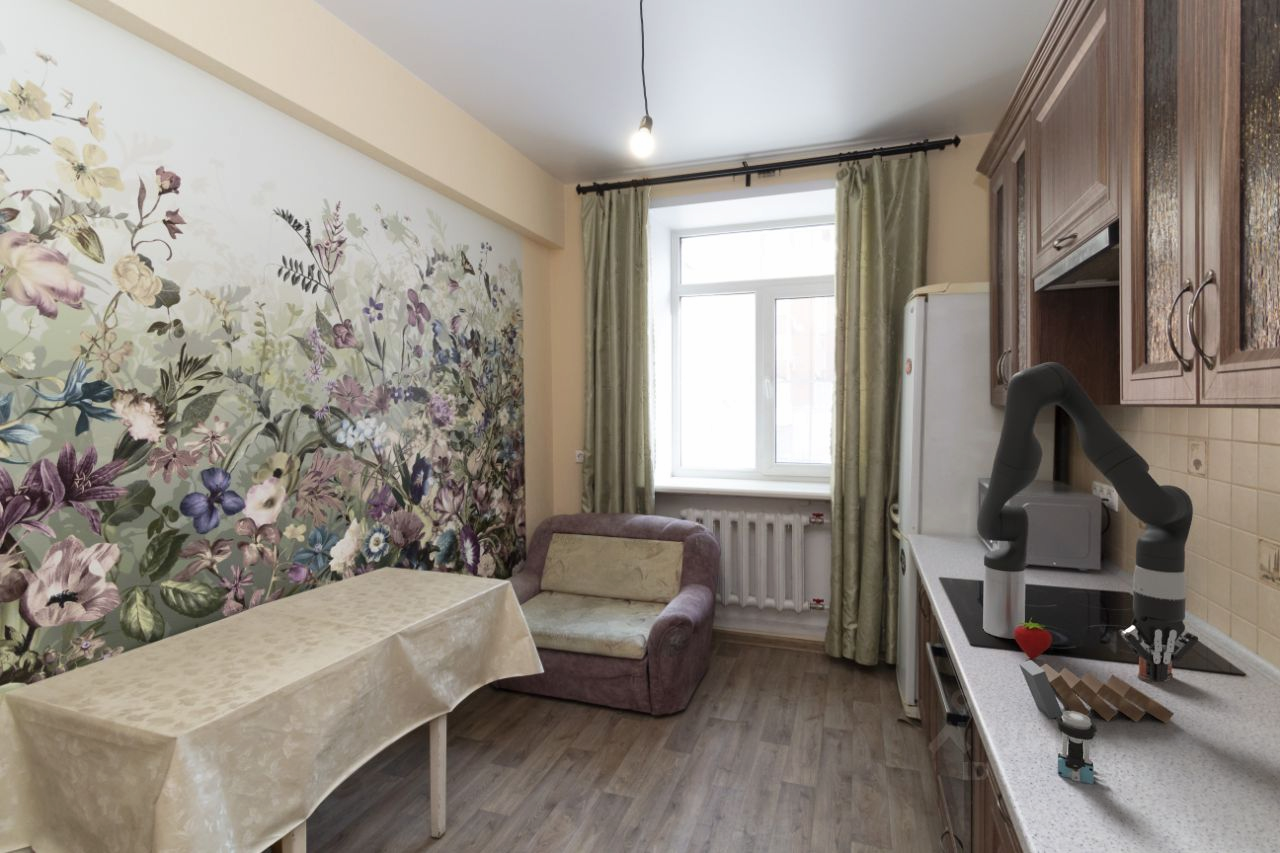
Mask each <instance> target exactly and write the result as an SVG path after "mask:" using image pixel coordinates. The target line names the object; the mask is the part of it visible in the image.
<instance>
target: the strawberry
mask: <svg viewBox="0 0 1280 853" xmlns="http://www.w3.org/2000/svg"><path fill="white" fill-rule="evenodd" d="M1032 619H1033V617H1031V618H1030V620H1029V622H1025V623H1021V622H1019V623H1021V624H1024V626H1018V627H1017V628H1015V631H1014V636H1015V639H1014V640H1015V642H1016V643H1017V644H1018V646H1019V647H1020V649H1021V650H1022V651H1023V652H1024V653H1025V654H1026V656H1027V657H1028V658H1029V659H1030V660H1031V659H1037V657H1039V656H1040V655H1042V654H1043V653H1044V652H1045V651H1046V650H1048V649H1049V648H1050V646H1051V644H1052V642H1053V638H1052V634H1051V632H1049V630H1047V629H1044V628H1045V627H1046V625H1041V624H1039V623H1035V622H1032V621H1031V620H1032Z"/></svg>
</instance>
